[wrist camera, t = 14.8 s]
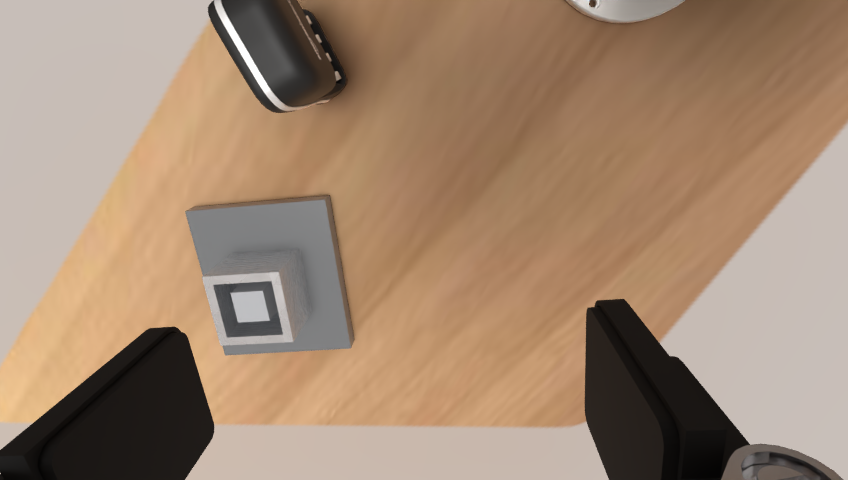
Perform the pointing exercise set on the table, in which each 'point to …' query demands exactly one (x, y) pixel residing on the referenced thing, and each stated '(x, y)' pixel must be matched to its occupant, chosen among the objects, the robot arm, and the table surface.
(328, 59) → the battery charger
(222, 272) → the collar
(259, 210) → the stand
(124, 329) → the table surface
